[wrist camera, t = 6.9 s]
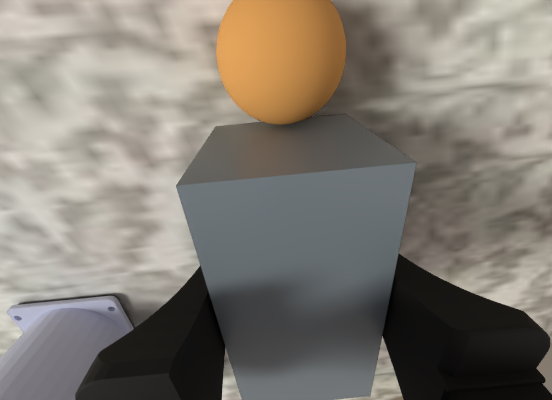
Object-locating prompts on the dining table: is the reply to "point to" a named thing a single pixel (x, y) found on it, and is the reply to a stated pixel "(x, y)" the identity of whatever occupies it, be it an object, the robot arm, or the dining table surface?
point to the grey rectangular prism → (299, 250)
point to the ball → (281, 57)
